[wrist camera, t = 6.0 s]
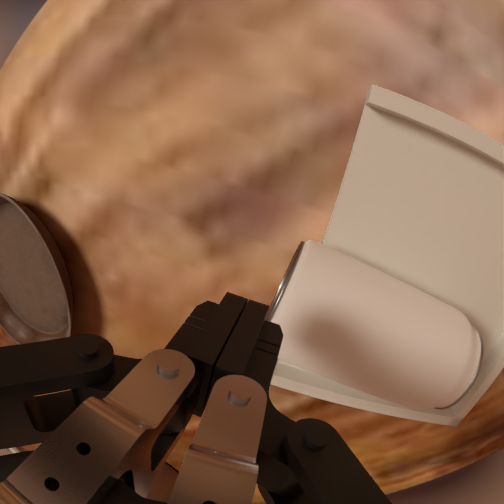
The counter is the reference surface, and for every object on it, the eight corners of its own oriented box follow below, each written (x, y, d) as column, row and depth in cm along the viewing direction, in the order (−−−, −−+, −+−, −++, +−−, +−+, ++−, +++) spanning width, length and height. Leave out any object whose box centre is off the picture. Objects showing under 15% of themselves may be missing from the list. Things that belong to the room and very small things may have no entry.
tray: (274, 368, 24) (270, 383, 22) (368, 89, 16) (372, 84, 14) (452, 411, 22) (456, 426, 20) (570, 195, 14) (584, 201, 12)
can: (305, 228, 20) (460, 303, 18) (263, 319, 21) (413, 380, 20) (302, 247, 13) (505, 344, 12) (243, 369, 15) (437, 437, 14)
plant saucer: (118, 342, 27) (100, 361, 24) (26, 344, 33) (11, 356, 30) (45, 155, 22) (19, 161, 19) (-28, 214, 28) (-47, 221, 25)
